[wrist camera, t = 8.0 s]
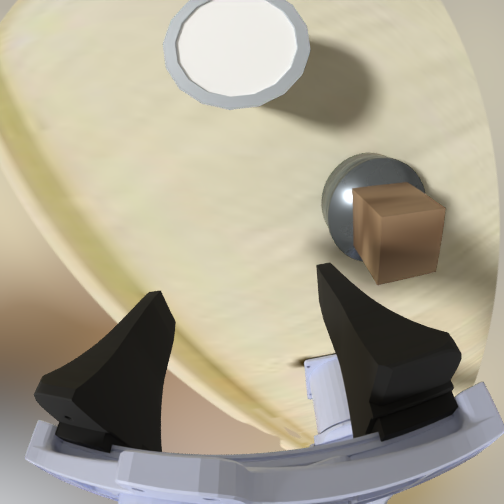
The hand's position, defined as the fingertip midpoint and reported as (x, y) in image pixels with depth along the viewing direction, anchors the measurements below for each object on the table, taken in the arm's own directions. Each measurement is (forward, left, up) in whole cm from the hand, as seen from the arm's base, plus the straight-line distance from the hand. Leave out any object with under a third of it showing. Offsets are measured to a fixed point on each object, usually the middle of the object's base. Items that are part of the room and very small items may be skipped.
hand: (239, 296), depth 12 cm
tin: (-1, -10, -11) cm, 15 cm away
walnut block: (-1, -10, -8) cm, 13 cm away
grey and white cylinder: (+11, -2, -11) cm, 15 cm away
